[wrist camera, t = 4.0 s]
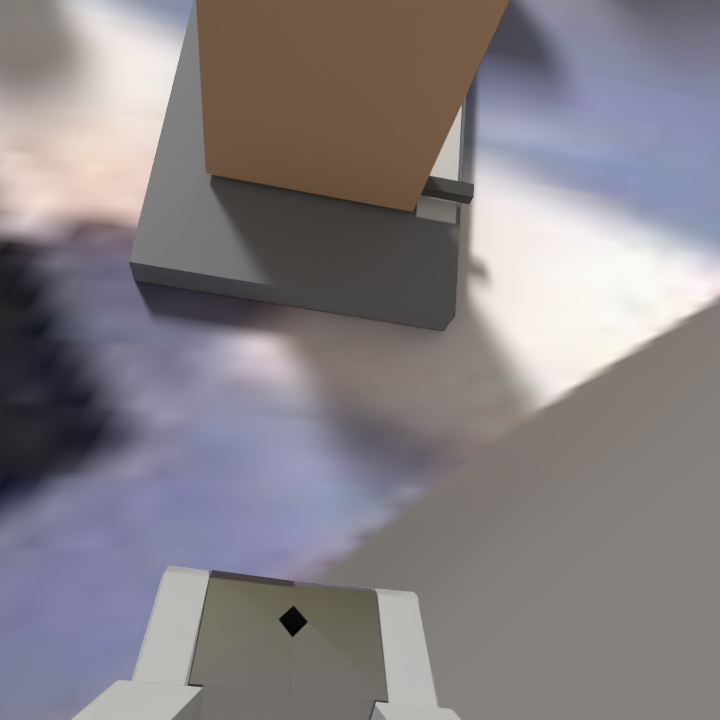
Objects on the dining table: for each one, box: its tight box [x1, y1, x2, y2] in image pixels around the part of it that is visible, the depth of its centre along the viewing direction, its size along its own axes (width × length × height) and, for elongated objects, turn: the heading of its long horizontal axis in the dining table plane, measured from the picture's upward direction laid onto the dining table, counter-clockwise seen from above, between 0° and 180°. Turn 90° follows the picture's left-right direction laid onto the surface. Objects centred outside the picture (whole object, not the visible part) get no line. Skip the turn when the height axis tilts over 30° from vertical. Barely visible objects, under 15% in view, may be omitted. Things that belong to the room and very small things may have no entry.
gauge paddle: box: [196, 0, 509, 212], centre depth 22 cm, size 2×10×10 cm, turn 84°
